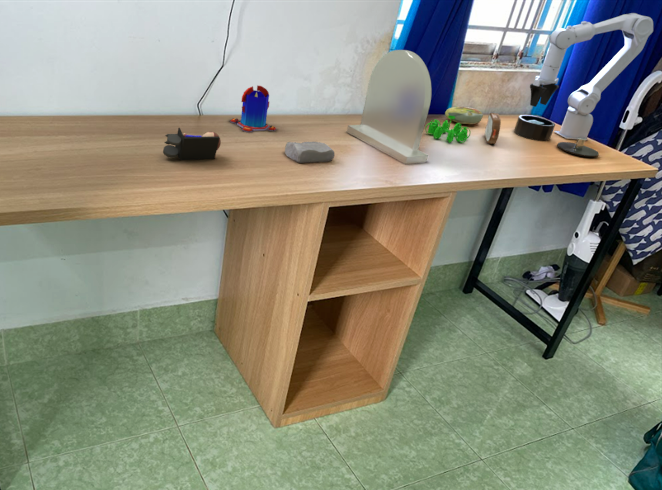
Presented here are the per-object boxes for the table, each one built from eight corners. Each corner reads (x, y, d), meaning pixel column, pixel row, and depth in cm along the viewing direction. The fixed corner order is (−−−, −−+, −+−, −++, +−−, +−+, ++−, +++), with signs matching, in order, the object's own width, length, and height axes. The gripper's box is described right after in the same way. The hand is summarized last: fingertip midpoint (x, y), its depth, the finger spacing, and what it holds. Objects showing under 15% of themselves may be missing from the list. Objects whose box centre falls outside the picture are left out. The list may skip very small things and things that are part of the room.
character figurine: (160, 155, 156) (215, 154, 162) (168, 163, 150) (225, 162, 157) (160, 124, 152) (217, 124, 159) (168, 131, 147) (227, 131, 153)
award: (427, 162, 180) (453, 63, 165) (405, 164, 175) (430, 63, 161) (367, 131, 199) (386, 40, 184) (346, 132, 194) (364, 39, 180)
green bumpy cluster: (451, 147, 196) (457, 125, 192) (414, 132, 205) (420, 111, 201) (477, 142, 205) (483, 121, 201) (440, 128, 214) (446, 108, 210)
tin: (495, 147, 202) (503, 122, 198) (485, 145, 203) (493, 120, 198) (491, 135, 215) (498, 111, 211) (482, 133, 215) (489, 109, 211)
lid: (579, 145, 219) (585, 133, 216) (606, 159, 208) (611, 146, 206) (548, 144, 215) (553, 131, 212) (573, 158, 204) (578, 144, 202)
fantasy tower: (244, 132, 180) (249, 91, 174) (227, 120, 188) (230, 80, 182) (279, 131, 186) (284, 90, 179) (260, 119, 194) (265, 80, 188)
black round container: (537, 130, 229) (542, 116, 226) (556, 142, 219) (562, 127, 216) (507, 128, 226) (512, 113, 223) (525, 139, 216) (531, 124, 213)
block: (529, 131, 225) (533, 119, 223) (540, 135, 222) (544, 123, 220) (523, 132, 222) (527, 120, 220) (534, 136, 220) (538, 124, 217)
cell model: (437, 110, 225) (471, 95, 228) (441, 130, 228) (474, 116, 231) (455, 113, 215) (490, 97, 218) (459, 134, 219) (493, 119, 222)
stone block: (280, 158, 171) (298, 163, 162) (281, 140, 169) (299, 145, 161) (316, 157, 176) (335, 163, 168) (318, 140, 174) (337, 145, 166)
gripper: (550, 62, 222) (537, 100, 229) (531, 63, 213) (518, 103, 220) (568, 67, 218) (554, 105, 225) (550, 69, 209) (536, 109, 216)
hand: (538, 105), depth 222 cm, fingers open, 7 cm apart
